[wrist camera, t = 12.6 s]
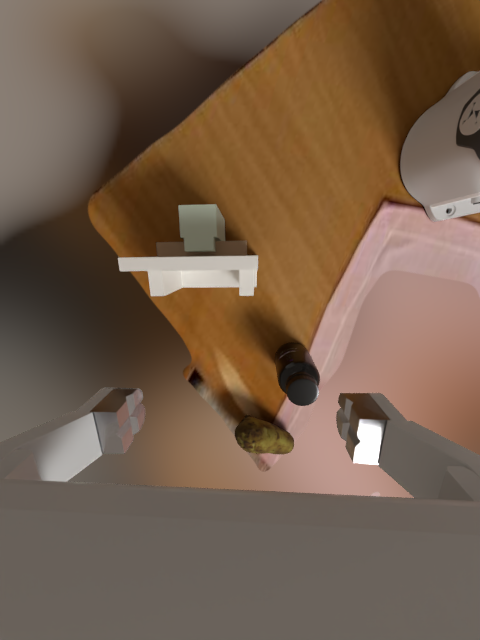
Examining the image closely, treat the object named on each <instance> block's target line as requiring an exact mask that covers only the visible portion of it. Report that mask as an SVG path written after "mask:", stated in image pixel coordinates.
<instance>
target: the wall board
mask: <svg viewBox="0 0 480 640" xmlns="http://www.w3.org/2000/svg"><path fill="white" fill-rule="evenodd" d="M156 249H157V257H130V258H118V262H119V268H120V271H148V277H149V285H150V293H151V296H165V295H167V294H170V293H172V292H174V291H176V290H178V289H180V288H182V287H239V290H240V296H254V287H257V270H258V255H247V241H215V251H216V252H186V251H185V248H184V242H156Z"/></svg>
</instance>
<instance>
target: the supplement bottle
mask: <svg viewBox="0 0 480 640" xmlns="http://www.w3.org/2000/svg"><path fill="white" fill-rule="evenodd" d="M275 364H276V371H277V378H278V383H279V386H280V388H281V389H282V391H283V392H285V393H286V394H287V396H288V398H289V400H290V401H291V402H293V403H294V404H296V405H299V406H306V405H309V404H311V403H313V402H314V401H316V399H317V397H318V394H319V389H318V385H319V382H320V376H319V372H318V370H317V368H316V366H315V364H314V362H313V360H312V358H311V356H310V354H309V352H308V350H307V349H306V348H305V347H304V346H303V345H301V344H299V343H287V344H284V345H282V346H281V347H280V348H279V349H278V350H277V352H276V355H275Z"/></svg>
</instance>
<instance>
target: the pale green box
mask: <svg viewBox="0 0 480 640" xmlns="http://www.w3.org/2000/svg"><path fill="white" fill-rule="evenodd" d="M178 208H179V224H180V237H181V238H183V239H184V248H185V251H186V252H216V251H215V241H225V219H224V218H223V216H222V214H221V212H220V210H219V209H218V207H217V205H216V204H206V205H178Z"/></svg>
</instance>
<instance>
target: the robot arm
mask: <svg viewBox="0 0 480 640" xmlns="http://www.w3.org/2000/svg"><path fill="white" fill-rule="evenodd" d="M400 169H401V176H402V180H403V183H404V185H405V187H406V189H407V191H408V192H409V193H410V194H411V196H412V197H414V198H415V199H416V200H417V201H419V202H420V203H421V204H422V205H423V206H424V208H425V210H426V212H427V215H428V217H429V218H430V219H431V220H432V221H434V222H438V221H442V220H447V219H452V218H456V217H461V216H466V215H470V214H475V213H480V71H479V72H475V71H470V72H468V73H466V74H464V75H463V76H462V77H460V78H459V79H458V80H457V81H456V82H455V83H454V85H453V86H452V87H451V88H450V90H449V91H448V93H447V94H446V95H445V97H444V98H442V99H441V100H440V101H439V102H437V103H436V104H435V105H433V106H432V107H430V108H429V109H428V110H427V111H426V112H424V113H423V114H422V115H421V116H420V118H419V119H418V120H417V121H416V122H415V124H414V125H413V127H412V128H411V130H410V132H409V134H408V135H407V138H406V140H405V142H404V145H403V149H402V153H401V160H400ZM447 209H448V213H446V210H447ZM142 399H143V395H142V391H141V390H140V389H133V388H102V389H101V390H100V391H99V392H97V393H96V394H95V395H94V396H93V397H92V398H91V399H89V400H88V401H87V402H86V403H85V404H84V405H82V406H81V407H80V408H79V409H78V410H77V411H76V412H70V413H67V414H65V415H63V416H60V417H58V418H56V419H53V420H51V421H49V422H46V423H44V424H42V425H40V426H37V427H35V428H32V429H30V430H28V431H25V432H23V433H21V434H18V435H17V436H14V437H11V438H9V439H7V440H5V441H2V442H0V640H480V455H478V454H476V453H474V452H472V451H470V450H468V449H466V448H464V447H462V446H460V445H458V444H456V443H454V442H452V441H450V440H448V439H446V438H444V437H442V436H441V435H439V434H436V433H435V432H433V431H431V430H429V429H427V428H425V427H423V426H421V425H419V424H417V423H415V422H413V421H407V420H406V419H405V418H404V417H403V416H402V414H400V412H399V411H398V410H397V409H396V408H395V407H394V406H393V405H392V404H391V403H390V402H389V400H388V399H387V398H386V397H385V396H384V395H383V394H381V393H340V395H339V400H338V403H339V405H340V407H341V408H340V409H339V410H338V412H337V418H336V419H337V420H336V421H337V428H338V432H339V434H340V436H341V438H342V439H344V440H345V441H346V449H347V451H348V453H349V455H350V457H351V459H352V462H353V463H364V464H378V466H379V467H380V468H382V469H383V470H384V471H385V472H386V473H387V474H388V475H389V476H391V477H392V478H393V479H394V480H395V481H396V482H397V483H398V484H400V485H401V486H402V487H403V488H404V489H405V490H406V491H408V492H409V493H410V494H411V495H412V496H413V497H414V498H399V497H376V496H355V495H334V494H314V493H294V492H275V491H254V490H231V489H210V488H189V487H167V486H147V485H126V484H105V483H84V482H67V481H68V480H69V479H71V478H72V477H73V476H75V475H76V474H77V473H79V472H80V471H81V470H83V469H84V468H85V467H87V466H88V465H89V464H91V463H92V462H93V461H95V460H96V459H97V458H98V457H100V456H101V455H102V454H125V452H126V451H127V449H128V448H129V446H130V445H131V443H132V441H133V440H134V439H133V435H134V434H135V433H137V432H138V431H140V429H141V427H142V426H143V422H144V419H145V407H144V406H143V405H142V404H141V403H140V402H141V400H142Z"/></svg>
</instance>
